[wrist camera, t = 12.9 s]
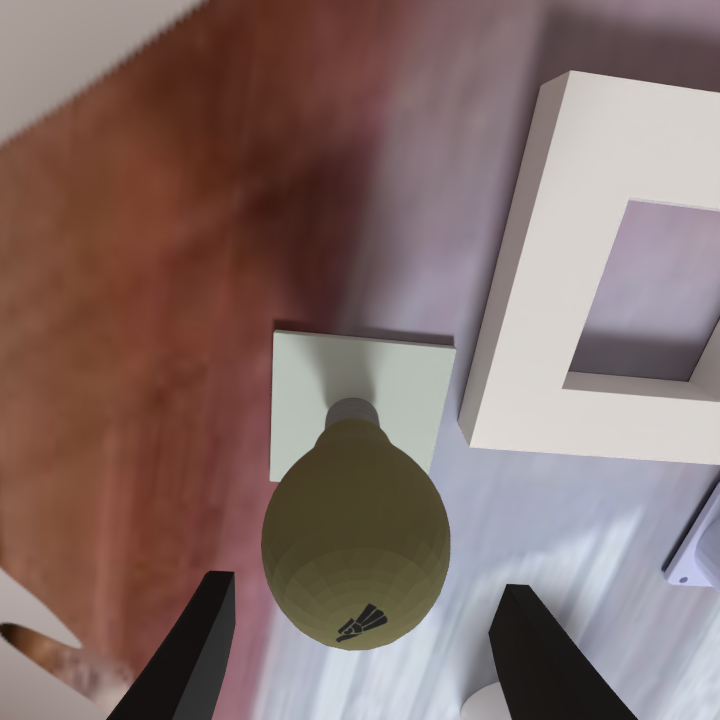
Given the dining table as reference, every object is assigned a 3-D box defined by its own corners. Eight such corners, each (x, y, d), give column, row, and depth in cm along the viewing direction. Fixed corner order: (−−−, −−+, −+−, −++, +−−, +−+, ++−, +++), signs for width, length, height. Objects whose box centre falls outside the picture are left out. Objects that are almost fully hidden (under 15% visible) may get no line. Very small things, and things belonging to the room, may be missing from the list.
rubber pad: (454, 346, 18) (456, 349, 17) (423, 485, 21) (424, 490, 21) (275, 329, 17) (273, 332, 17) (271, 475, 20) (269, 480, 20)
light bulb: (320, 337, 17) (294, 514, 8) (432, 385, 18) (524, 589, 9) (273, 436, 19) (208, 672, 10) (377, 474, 20) (406, 716, 11)
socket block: (892, 137, 15) (968, 131, 13) (718, 442, 21) (755, 467, 19) (540, 85, 14) (570, 70, 12) (457, 422, 19) (469, 447, 18)
